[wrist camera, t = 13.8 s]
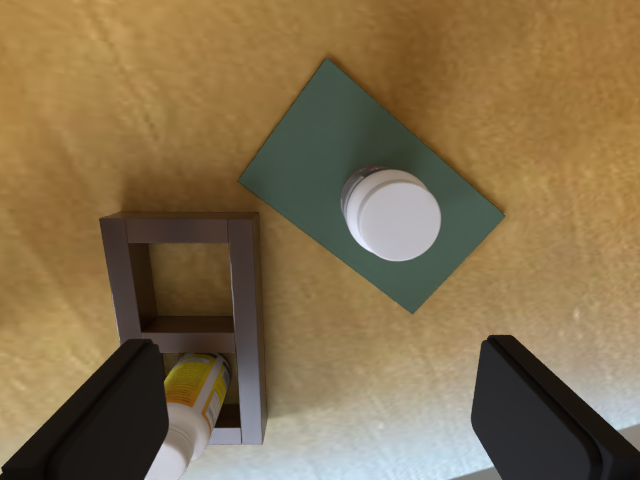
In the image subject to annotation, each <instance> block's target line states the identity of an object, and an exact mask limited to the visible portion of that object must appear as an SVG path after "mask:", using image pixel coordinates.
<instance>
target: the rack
mask: <svg viewBox="0 0 640 480" xmlns="http://www.w3.org/2000/svg"><path fill="white" fill-rule="evenodd" d="M99 221H100V227H101V233H102V239H103V245H104V251H105V257H106V263H107V268H108V274H109V280H110V286H111V292H112V298H113V304H114V310H115V316H116V322H117V328H118V334H119V340H120V346H121V345H122V344H123V343H124V342H125V341H126V340H128V339H151V340H152V341H153V344H158V346H159V350H160V357H161V365H162V372H163V379H164V381H165V373H164V365H163V357H162V353H236V359H237V374H238V389H239V404H240V405H222V407H221V409H220V412H219V415H218V418H217V420H216V423H215V426H214V429H213V431H212V434H211V437H210V440H209V442H208V445H242V444H263V441H264V435H265V430H266V424H267V402H266V378H265V353H264V329H263V304H262V280H261V255H260V231H259V213H258V212H236V213H235V212H118V213H115V214H112V215H109V216H105V217H102V218H99ZM147 243H229V253H230V268H231V283H232V298H233V314H234V316H157V312H156V304H155V297H154V289H153V282H152V274H151V267H150V259H149V251H148V244H147Z"/></svg>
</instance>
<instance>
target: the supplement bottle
mask: <svg viewBox="0 0 640 480" xmlns="http://www.w3.org/2000/svg"><path fill="white" fill-rule="evenodd" d="M230 381H231V370H230V367H229V364H228V363H227V361H226V360H225V359H224V358H223V357H222V356H221V355H220V354H218V353H185V354H184V355H183V356H182V357H180V359H179V360H178V361H177V362H176V364H175V366H174V367H173V369H172V370H171V372H170V373H169V375H168V376H167V378H166V379H165V381H164V387H165V394H166V401H167V409H168V416H169V429H168V433H167V436H166V438H165V440H164V442H163V444H162V446H161V448H160V450H159V452H158V454H157V456H156V458H155V460H154V462H153V464H152V466H151V468H150V469H149V471H148V473H147V475H146V477H145V479H144V480H179V479H180V478H181V477H182V476H183V475H184V473H185V472H186V469H187V467H188V465H189V463H190V462H192V461H194V460H195V459H197V458H198V457H199V456H200V455H201V454H202V453H203V452H204V450H205V449H206V447H207V445H208V442H209V440H210V437H211V434H212V431H213V429H214V426H215V423H216V420H217V418H218V415H219V412H220V409H221V407H222V404H223V401H224V398H225V395H226V393H227V390H228V387H229V384H230Z"/></svg>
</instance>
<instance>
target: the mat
mask: <svg viewBox="0 0 640 480" xmlns="http://www.w3.org/2000/svg"><path fill="white" fill-rule="evenodd" d="M369 166H384V167H388V168H392V169H397V170H401V171H405V172H407V173H410V174H412V175H414V176H415V177H416V178H418V179H419V180H420V181H421V182H422V183H423V184H424V185H425V186H426V188H427V189H428V191H429V192H430V193H431V194H432V195H433V196H434V198H435V199H436V201H437V203H438V205H439V208H440V212H441V226H440V230H439V233H438V236H437V238H436V239H435V241H434V243H433V244H432V245H431V246H430V248H429V249H427V250H426V251H425V252H424V253H422V254H421V255H419V256H417V257H415V258H413V259H410V260H405V261H390V260H386V259H383V258H381V257H379V256H377V255H376V254H374V253H372V252H370V251H368V250H366V249H365V248H363V247H362V246H361V245H360V244H359V243H358V242H357V241H356V240H355V239H354V237H353V236H352V234H351V232H350V230H349V228H348V225H347V223H346V220H345V218H344V215H343V213H342V209H341V201H340V200H341V193H342V190H343V187H344V185H345V183H346V182H347V180H348V179H349V178H350V177H351V176H352V175H353V174H354V173H355V172H357V171H358V170H360V169H362V168H365V167H369ZM238 182H239V183H241V184H242V185H243V186H245V187H246V188H247V189H249V190H250V191H251V192H253V193H254V194H255V195H256V196H258V197H259V198H260V199H262V200H263V201H264V202H266V203H267V204H268V205H270V206H271V207H272V208H274V209H275V210H276V211H277V212H279V213H280V214H281V215H283V216H284V217H285V218H287V219H288V220H289V221H291V222H292V223H293V224H295V225H296V226H297V227H299V228H300V229H301V230H302V231H304V232H305V233H306V234H308V235H309V236H310V237H312V238H313V239H314V240H316V241H317V242H318V243H320V244H321V245H322V246H323V247H325V248H326V249H327V250H329V251H330V252H331V253H333V254H334V255H335V256H337V257H338V258H339V259H341V260H342V261H343V262H344V263H346V264H347V265H348V266H350V267H351V268H352V269H354V270H355V271H356V272H358V273H359V274H360V275H362V276H363V277H364V278H365V279H367V280H368V281H369V282H371V283H372V284H373V285H375V286H376V287H377V288H379V289H380V290H381V291H383V292H384V293H385V294H387V295H388V296H389V297H390V298H392V299H393V300H394V301H396V302H397V303H398V304H400V305H401V306H402V307H404V308H405V309H406V310H408V311H409V312H410V313H411V314H414V312H415V311H416V310H417V309H418V308H419V307H420V306H421V305H422V304H423V303H424V302H425V301H426V300H427V299H428V298H429V297H430V296H431V295H432V293H433V292H434V291H435V290H436V289H437V288H438V287H439V286H440V285H441V284H442V283H443V282H444V281H445V280H446V279H447V278H448V277H449V276H450V274H451V273H452V272H453V271H454V270H455V269H456V268H457V267H458V266H459V265H460V264H461V263H462V262H463V261H464V260H465V259H466V258H467V257H468V256H469V254H470V253H471V252H472V251H473V250H474V249H475V248H476V247H477V246H478V245H479V244H480V243H481V242H482V241H483V240H484V239H485V238H486V237H487V235H488V234H489V233H490V232H491V231H492V230H493V229H494V228H495V227H496V226H497V225H498V224H499V223H500V222H501V221H502V220H503V219H504V218H505V215H504V214H503V213H502V212H501V211H500V210H498V209H497V208H496V207H495V206H494V205H493V204H492V203H491V202H489V201H488V200H487V199H486V198H485V197H484V196H483V195H481V194H480V193H479V192H478V191H477V190H476V189H475V188H474V187H472V186H471V185H470V184H469V183H468V182H467V181H466V180H465V179H463V178H462V177H461V176H460V175H459V174H458V173H457V172H456V171H454V170H453V169H452V168H451V167H450V166H449V165H448V164H447V163H445V162H444V161H443V160H442V159H441V158H440V157H439V156H437V155H436V154H435V153H434V152H433V151H432V150H431V149H430V148H428V147H427V146H426V145H425V144H424V143H423V142H422V141H421V140H419V139H418V138H417V137H416V136H415V135H414V134H413V133H412V132H410V131H409V130H408V129H407V128H406V127H405V126H404V125H403V124H401V123H400V122H399V121H398V120H397V119H396V118H395V117H393V116H392V115H391V114H390V113H389V112H388V111H387V110H386V109H384V108H383V107H382V106H381V105H380V104H379V103H378V102H377V101H375V100H374V99H373V98H372V97H371V96H370V95H369V94H368V93H366V92H365V91H364V90H363V89H362V88H361V87H360V86H359V85H357V84H356V83H355V82H354V81H353V80H352V79H351V78H349V77H348V76H347V75H346V74H345V73H344V72H343V71H342V70H340V69H339V68H338V67H337V66H336V65H335V64H334V63H333V62H331V61H330V60H329V59H328V58H326V59H325V61H324V62H323V63H322V65H321V66H320V68H319V69H318V70H317V72H316V73H315V74H314V76H313V77H312V79H311V80H310V81H309V83H308V84H307V86H306V87H305V88H304V90H303V91H302V92H301V94H300V95H299V97H298V98H297V99H296V101H295V102H294V104H293V105H292V106H291V108H290V109H289V110H288V112H287V113H286V115H285V116H284V117H283V119H282V120H281V122H280V123H279V124H278V126H277V127H276V128H275V130H274V131H273V133H272V134H271V135H270V137H269V138H268V140H267V141H266V142H265V144H264V145H263V146H262V148H261V149H260V151H259V152H258V153H257V155H256V156H255V158H254V159H253V160H252V162H251V163H250V164H249V166H248V167H247V169H246V170H245V171H244V173H243V174H242V176H241V177H240V178H239V180H238Z"/></svg>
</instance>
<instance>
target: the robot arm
mask: <svg viewBox="0 0 640 480" xmlns="http://www.w3.org/2000/svg"><path fill="white" fill-rule="evenodd" d="M471 423H472V427H473V429H474V432H475V433H476V435H477V437H478V438H479V440H480V442H481V444H482V445H483V447H484V449H485V450H486V452H487V454H488V456H489V457H490V459H491V461H492V462H493V464H494V466H495V468H496V469H497V471H498V473H499V474H500V476H501V478H502V480H640V452H639V451H638V450H637V449H636V448H635V447H634V446H633V445H632V444H631V443H629V442H628V441H627V440H626V439H625V438H624V437H623V436H622V435H621V434H620V433H618V432H617V431H616V430H615V429H614V428H613V427H612V426H611V425H610V424H609V423H608V422H606V421H605V420H604V419H603V418H602V417H601V416H600V415H599V414H598V413H597V412H596V411H594V410H593V409H592V408H591V407H590V406H589V405H588V404H587V403H586V402H585V401H583V400H582V399H581V398H580V397H579V396H578V395H577V394H576V393H575V392H574V391H573V390H571V389H570V388H569V387H568V386H567V385H566V384H565V383H564V382H563V381H562V380H560V379H559V378H558V377H557V376H556V375H555V374H554V373H553V372H552V371H551V370H550V369H548V368H547V367H546V366H545V365H544V364H543V363H542V362H541V361H540V360H539V359H538V358H536V357H535V356H534V355H533V354H532V353H531V352H530V351H529V350H528V349H527V348H525V347H524V346H523V345H522V344H521V343H520V342H519V341H518V340H517V339H516V338H515V337H513V336H512V335H490V336H488V338H487V340H484V341H483V342H482V344H481V350H480V357H479V364H478V371H477V378H476V385H475V392H474V399H473V406H472V413H471ZM168 429H169V416H168V409H167V401H166V394H165V387H164V379H163V372H162V365H161V357H160V350H159V346H158V344H153V341H152V340H151V339H128V340H126V341H125V342H124V343H123V344H122V345H121V346H120V347H119V348H118V349H117V350H116V351H115V352H114V353H113V354H112V355H111V356H110V357H109V358H108V360H107V361H106V362H105V363H104V364H103V365H102V366H101V367H100V368H99V369H98V370H97V371H96V372H95V373H94V374H93V375H92V376H91V377H90V378H89V379H88V380H87V381H86V382H85V383H84V384H83V385H82V386H81V387H80V388H79V389H78V390H77V391H76V392H75V393H74V394H73V395H72V396H71V397H70V398H69V399H68V400H67V401H66V402H65V403H64V404H63V405H62V406H61V407H60V408H59V409H58V410H57V411H56V412H55V413H54V414H53V415H52V417H51V418H50V419H49V420H48V421H47V422H46V423H45V424H44V425H43V426H42V427H41V428H40V429H39V430H38V431H37V432H36V433H35V434H34V435H33V436H32V437H31V438H30V439H29V440H28V441H27V442H26V443H25V444H24V445H23V446H22V447H21V448H20V449H19V450H18V451H17V452H16V453H15V454H14V455H13V456H12V457H11V458H10V459H9V460H8V461H7V462H6V463H5V464H4V465H3V466H2V467H1V469H2V472H3V473H2V474H1V475H0V480H144V479H145V477H146V475H147V473H148V471H149V469H150V468H151V466H152V464H153V462H154V460H155V458H156V456H157V454H158V452H159V450H160V448H161V446H162V444H163V442H164V440H165V438H166V436H167V433H168Z"/></svg>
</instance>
